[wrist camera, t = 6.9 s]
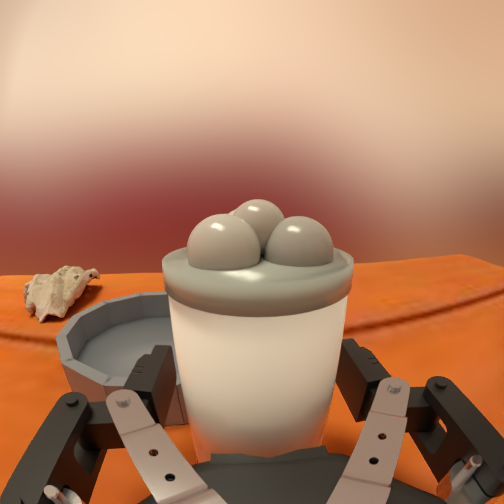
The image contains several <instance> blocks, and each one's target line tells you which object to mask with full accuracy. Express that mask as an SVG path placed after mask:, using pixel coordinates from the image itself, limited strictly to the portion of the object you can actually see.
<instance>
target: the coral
mask: <svg viewBox="0 0 504 504" xmlns="http://www.w3.org/2000/svg"><path fill="white" fill-rule="evenodd" d="M94 278H96V279H100V275H99V273H98V272H97V270H96V269H91V270H88V271H84V270H82V268H80V267H74V266H73V267H69V266H64V267H63V268H60V269H59V270H58V271H57V272H55V273H54V274H52V275H50V274H44V275H41V274H37V275H35V276H34V278H33V280H31V281H30V282H29V283H27V284H25V285H24V298H25V304H26V309H27V310H28V311H29V312H32V311H33V310H36V313H35V315H36V317H37V318H39V321H40V323H42V322H43V320H44V319H45V318H46V316H47V315H48V314H50V315H54V316H58V317H59V318H63V317H64V316H65V314H66V312H67V310H68V308H69V306H72V305H73V304H74V301H75V300H76V299H77V298H79V297H80V296H81V293H83V291H84V289H85V286H86V284H87V283H89V282H90V281H91V280H92V279H94Z"/></svg>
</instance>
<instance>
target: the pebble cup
mask: <svg viewBox="0 0 504 504" xmlns="http://www.w3.org/2000/svg"><path fill="white" fill-rule="evenodd" d="M353 265H354V260H353V258H352V257H351V256H350V255H349V254H348V253H346V252H344V251H342V250H339V249H336V248H334V247H333V242H332V239H331V237H330V235H329V233H328V231H327V230H326V229H325V228H324V227H323V226H322V225H321V224H320V223H318V222H317V221H315V220H313V219H311V218H308V217H302V216H294V217H290V218H286V219H284V216H283V214H282V212H281V211H280V210H279V208H277V207H276V206H275V205H274V204H272V203H271V202H268V201H266V200H259V199H258V200H257V199H256V200H250V201H248V202H245V203H243V204H242V205H240V206H239V207H238V208H237V209H236V210H234V211H232V212H230V213H229V214H218V215H213V216H210V217H208V218H206V219H205V220H203V221H201V222H200V223H199V224H198V225H197V226H196V227H195V228H194V230H193V231H192V233H191V235H190V237H189V240H188V243H187V247H185V248H182V249H178V250H176V251H173V252H171V253H169V254H167V255H166V256H165V257H164V258H163V260H162V267H163V279H164V288H165V291H166V293H167V294H168V297H169V306H170V315H171V323H172V331H173V338H174V345H175V351H176V358H177V364H178V370H179V376H180V381H181V387H182V392H183V397H184V402H185V407H186V412H187V417H188V421H189V426H190V430H191V435H192V439H193V443H194V447H195V451H196V455H197V459H198V463H202V462H206V461H210V459H211V453H215V454H245V455H252V456H259V457H267V458H270V457H275V456H278V455H282V454H285V453H288V452H292V451H295V450H298V449H305V448H312V447H319V446H321V442H322V439H323V435H324V431H325V426H326V422H327V418H328V413H329V409H330V404H331V400H332V395H333V390H334V385H335V379H336V374H337V368H338V362H339V356H340V350H341V343H342V337H343V329H344V322H345V314H346V305H347V296H348V294H349V292H350V290H351V287H352V277H353Z"/></svg>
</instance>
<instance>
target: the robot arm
mask: <svg viewBox="0 0 504 504" xmlns="http://www.w3.org/2000/svg"><path fill="white" fill-rule="evenodd" d="M176 380H177V375H176V368H175V362H174V356H173V350H172V346H171V345H155V346H154V348H153V350H152V352H151V354H144V355H143V356H142V357H140V358H139V359H138V360H137V362H136V364H135V366H134V368H133V369H132V371H131V373H130V375H129V377H128V379H127V381H126V383H125V384H124V386H123V388H122V390H117V391H114V392H112V393H111V394H110V395H109V396H108V397H107V399H106V401H100V402H88V400H87V397H86V396H85V395H84V394H82V393H79V392H70V393H66V394H64V395H63V396H61V397H60V398H59V400H58V401H57V403H56V404H55V406H54V407H53V409H52V410H51V412H50V413H49V415H48V416H47V418H46V419H45V421H44V422H43V424H42V425H41V427H40V429H39V430H38V432H37V433H36V435H35V436H34V438H33V440H32V441H31V443H30V445H29V446H28V448H27V450H26V451H25V453H24V455H23V456H22V458H21V460H20V462H19V463H18V465H17V467H16V469H15V470H14V472H13V474H12V476H11V478H10V479H9V481H8V483H7V485H6V487H5V489H4V491H3V493H2V495H1V498H0V504H89V501H90V498H91V495H92V492H93V489H94V486H95V483H96V480H97V477H98V474H99V472H100V469H101V466H102V463H103V460H104V458H105V455H106V452H107V449H115V448H126V449H127V451H128V453H129V455H130V457H131V459H132V461H133V463H134V465H135V466H136V468H137V470H138V472H139V474H140V475H141V477H142V479H143V481H144V482H145V484H146V486H147V487H148V489H149V490H150V492H151V495H150V496H148V497H147V498H145V499H144V500H142V501H141V502H139V503H138V504H494V503H495V502H496V501H497V500H498V499H499V498H500V497H501V496H502V495H503V494H504V438H503V437H502V436H501V435H500V434H499V433H498V431H497V430H496V429H495V428H494V427H493V426H492V425H491V423H490V422H489V421H488V420H487V419H486V418H485V417H484V416H483V414H482V413H481V412H480V411H479V410H478V409H477V408H476V407H475V406H474V405H473V403H472V402H471V401H470V400H469V399H468V398H467V397H466V396H465V395H464V394H463V393H462V392H461V391H460V390H459V388H458V387H457V386H456V385H455V384H454V383H453V382H452V381H451V380H449V379H448V378H445V377H441V376H435V377H431V378H430V379H428V381H427V383H426V386H425V387H410V386H409V384H408V383H407V382H406V381H405V380H403V379H400V378H396V377H391V376H390V375H389V373H388V372H387V371H386V370H385V368H384V367H383V366H382V364H381V363H379V361H378V359H377V358H376V357H375V356H374V355H373V353H372V352H371V351H370V350H368V349H366V348H364V347H359V346H358V344H357V343H356V342H355V340H354V339H353V338H350V339H342V343H341V350H340V356H339V362H338V368H337V374H336V379H335V381H336V383H337V385H338V387H339V389H340V391H341V393H342V395H343V397H344V399H345V401H346V403H347V405H348V407H349V409H350V411H351V413H352V415H353V417H354V419H355V421H356V422H360V421H364V420H365V421H366V422H365V424H364V427H363V429H362V432H361V434H360V437H359V439H358V441H357V444H356V446H355V448H354V451H353V453H352V455H351V457H350V456H346V455H343V454H338V453H327V450H326V447H325V446H319V447H312V448H305V449H298V450H295V451H292V452H288V453H285V454H282V455H278V456H275V457H270V458H267V457H259V456H252V455H245V454H215V453H211V459H210V461H206V462H202V463H199V464H196V465H193V466H190V464H189V463H188V462H187V460H186V459H185V458H184V457H183V455H182V454H181V453H180V451H179V450H178V449H177V447H176V446H175V445H174V443H173V442H172V441H171V439H170V438H169V436H168V435H167V434H166V432H165V431H164V426H165V422H166V418H167V415H168V411H169V407H170V404H171V400H172V397H173V393H174V389H175V386H176ZM440 419H441V420H442V421H443V423H444V424H445V425H446V428H447V433H446V432H445V430H444V429H443V428H442V426H441V425H440V424H439V420H440ZM407 432H409V434H410V435H411V437H412V439H413V440H414V442H415V444H416V445H417V447H418V449H419V450H420V452H421V454H422V455H423V457H424V459H425V461H426V462H427V464H428V466H429V467H430V469H431V471H432V473H433V474H434V476H435V478H436V480H437V481H438V483H439V484H438V486H437V490H436V491H437V496H435V495H433V494H430V493H427V492H425V491H422V490H420V489H418V488H415V487H413V486H410V485H408V484H406V483H403V482H401V481H399V480H397V479H395V478H393V475H394V472H395V468H396V465H397V461H398V457H399V454H400V450H401V446H402V442H403V437H404V433H407Z"/></svg>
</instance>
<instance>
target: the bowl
mask: <svg viewBox="0 0 504 504" xmlns="http://www.w3.org/2000/svg"><path fill="white" fill-rule="evenodd" d="M56 341H57V346H58V350H59V354H60V358H61V362H62V365H63V368H64V371H65V374H66V376H67V379H68V381H69V384H70V386H71V389H72V391H73V392H79V393H82V394H84V395H85V396H86V397H87V400H88V402H100V401H106V399H107V397H108V396H109V395H110V394H111V393H112V392H114V391H117V390H122V388H123V386H124V384H125V383H126V381H127V379H128V377H129V375H130V373H131V371H132V369H133V368H134V366H135V364H136V362H137V360H138V359H139V358H140V357H142V356H143V355H144V354H151V352H152V350H153V348H154V346H155V345H171V346H172V350H173V356H174V362H175V368H176V375H177V380H176V386H175V389H174V393H173V397H172V400H171V404H170V407H169V411H168V415H167V418H166V422H165V425H179V424H186V423H188V422H189V421H188V417H187V412H186V407H185V402H184V397H183V392H182V387H181V381H180V376H179V370H178V364H177V358H176V351H175V345H174V338H173V331H172V323H171V315H170V306H169V297H168V294H167V293H166V291H165V292H145V293H136V294H132V295H128V296H123V297H119V298H114V299H110V300H105V301H102V302H100V303H98V304H96V305H94V306H92V307H89V308H87V309H85V310H83V311H81V312H79V313H77V314H75V315H73V316H72V317H71V318H70V320H69V321H68V322H67V323H66V325H65V326H64V327H63V328H62V330H61V331H60V332H59V333H58V335H57V336H56Z"/></svg>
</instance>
